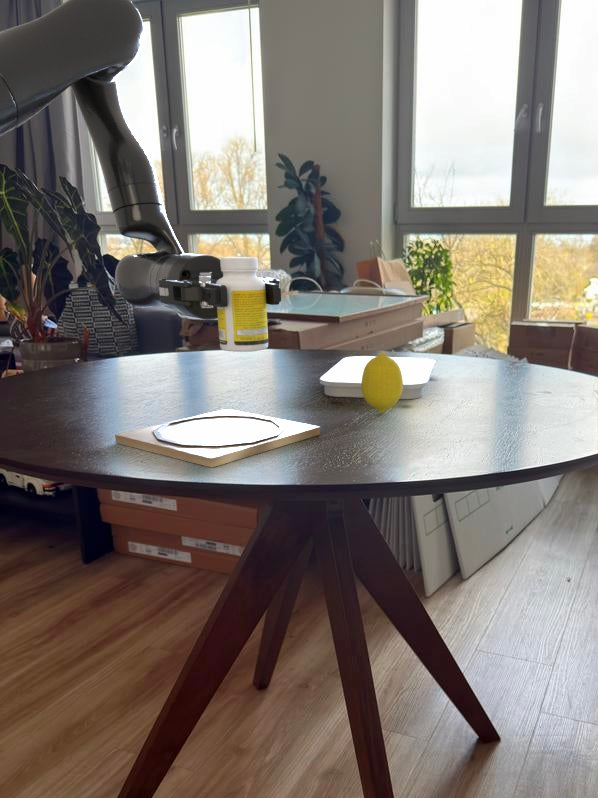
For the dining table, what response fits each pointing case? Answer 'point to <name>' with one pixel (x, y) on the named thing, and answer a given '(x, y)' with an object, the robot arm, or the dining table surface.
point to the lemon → (382, 382)
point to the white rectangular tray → (350, 370)
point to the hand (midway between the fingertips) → (250, 295)
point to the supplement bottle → (242, 306)
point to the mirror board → (217, 436)
